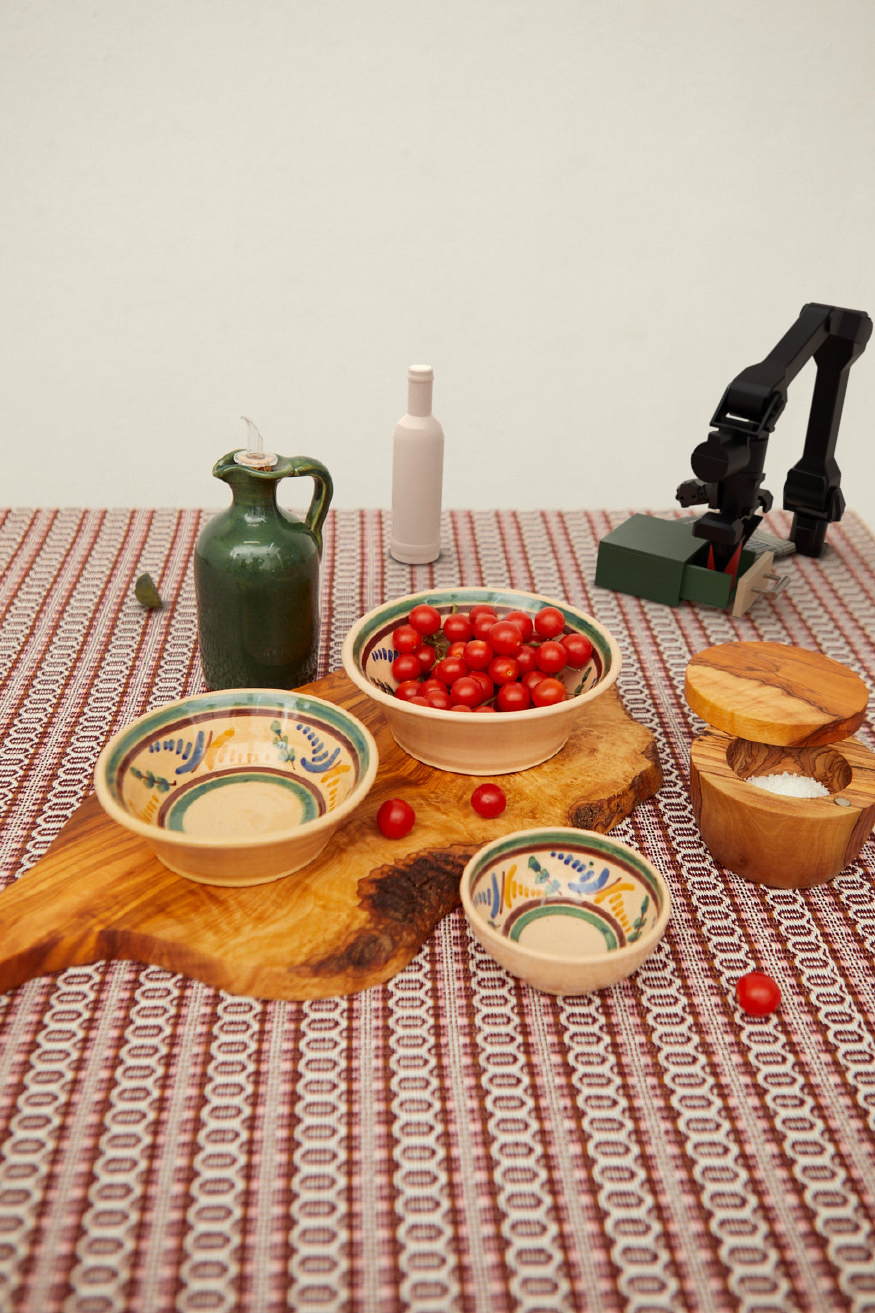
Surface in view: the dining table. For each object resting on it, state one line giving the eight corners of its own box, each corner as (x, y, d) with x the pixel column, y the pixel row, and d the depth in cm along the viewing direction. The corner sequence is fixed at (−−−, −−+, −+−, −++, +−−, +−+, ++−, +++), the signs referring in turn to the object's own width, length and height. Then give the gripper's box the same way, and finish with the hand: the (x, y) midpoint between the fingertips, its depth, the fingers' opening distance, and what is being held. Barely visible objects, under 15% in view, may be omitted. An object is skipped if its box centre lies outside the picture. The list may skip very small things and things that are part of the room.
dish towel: (799, 554, 181) (802, 536, 180) (723, 577, 172) (726, 558, 171) (716, 517, 195) (719, 500, 193) (642, 537, 186) (644, 519, 184)
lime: (152, 596, 158) (149, 564, 156) (175, 606, 156) (172, 573, 154) (128, 607, 155) (124, 574, 153) (151, 616, 153) (148, 584, 150)
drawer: (792, 593, 166) (800, 558, 163) (766, 625, 156) (774, 588, 153) (690, 567, 173) (695, 533, 170) (659, 595, 163) (664, 560, 160)
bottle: (379, 554, 175) (382, 366, 161) (412, 541, 180) (418, 357, 166) (417, 569, 170) (423, 376, 156) (449, 555, 176) (458, 367, 161)
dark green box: (709, 575, 173) (717, 531, 169) (676, 607, 162) (684, 561, 158) (630, 555, 179) (636, 512, 175) (594, 585, 168) (599, 540, 164)
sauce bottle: (710, 577, 167) (720, 515, 163) (737, 584, 165) (749, 522, 161) (700, 586, 164) (710, 524, 159) (728, 594, 162) (739, 531, 157)
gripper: (710, 440, 166) (694, 535, 174) (664, 472, 152) (650, 574, 160) (782, 454, 161) (763, 552, 169) (742, 489, 147) (723, 594, 155)
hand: (724, 567), depth 163 cm, fingers open, 5 cm apart
